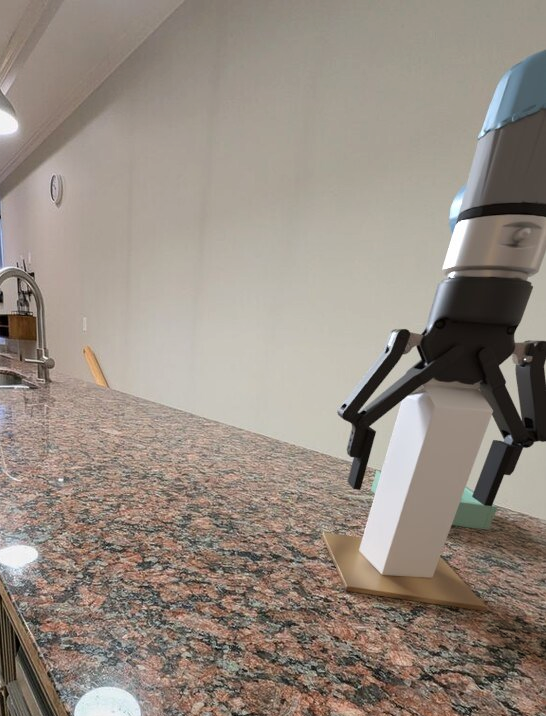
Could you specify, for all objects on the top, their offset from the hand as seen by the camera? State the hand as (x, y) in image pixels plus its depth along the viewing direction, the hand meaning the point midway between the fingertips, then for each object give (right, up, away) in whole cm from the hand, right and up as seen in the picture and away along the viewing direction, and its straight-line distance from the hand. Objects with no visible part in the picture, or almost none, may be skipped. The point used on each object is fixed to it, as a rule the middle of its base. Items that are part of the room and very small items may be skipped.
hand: (416, 493), depth 49 cm
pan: (+16, -1, +25) cm, 30 cm away
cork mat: (-1, -9, +4) cm, 10 cm away
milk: (-1, -8, +4) cm, 9 cm away
